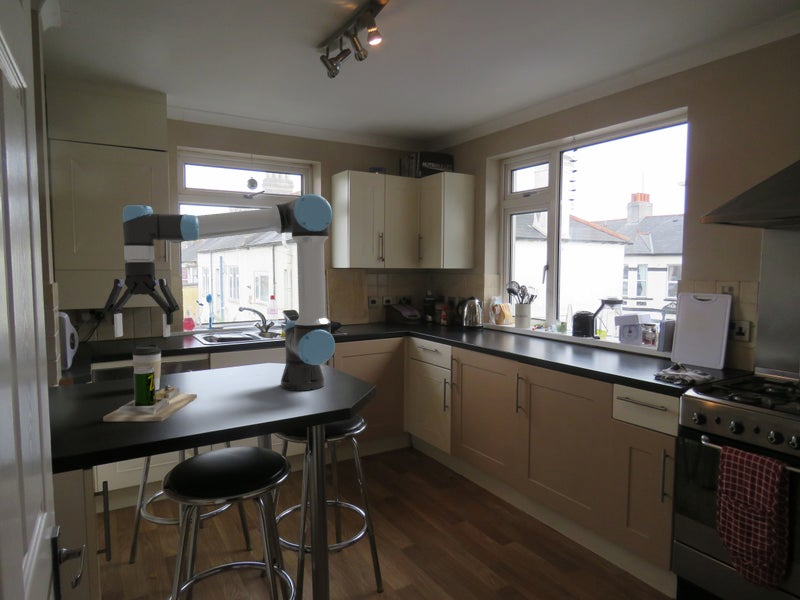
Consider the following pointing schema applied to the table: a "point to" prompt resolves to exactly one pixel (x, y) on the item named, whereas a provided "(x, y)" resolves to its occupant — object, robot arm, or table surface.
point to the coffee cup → (148, 360)
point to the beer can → (144, 386)
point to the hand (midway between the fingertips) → (143, 336)
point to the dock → (152, 408)
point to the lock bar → (164, 391)
